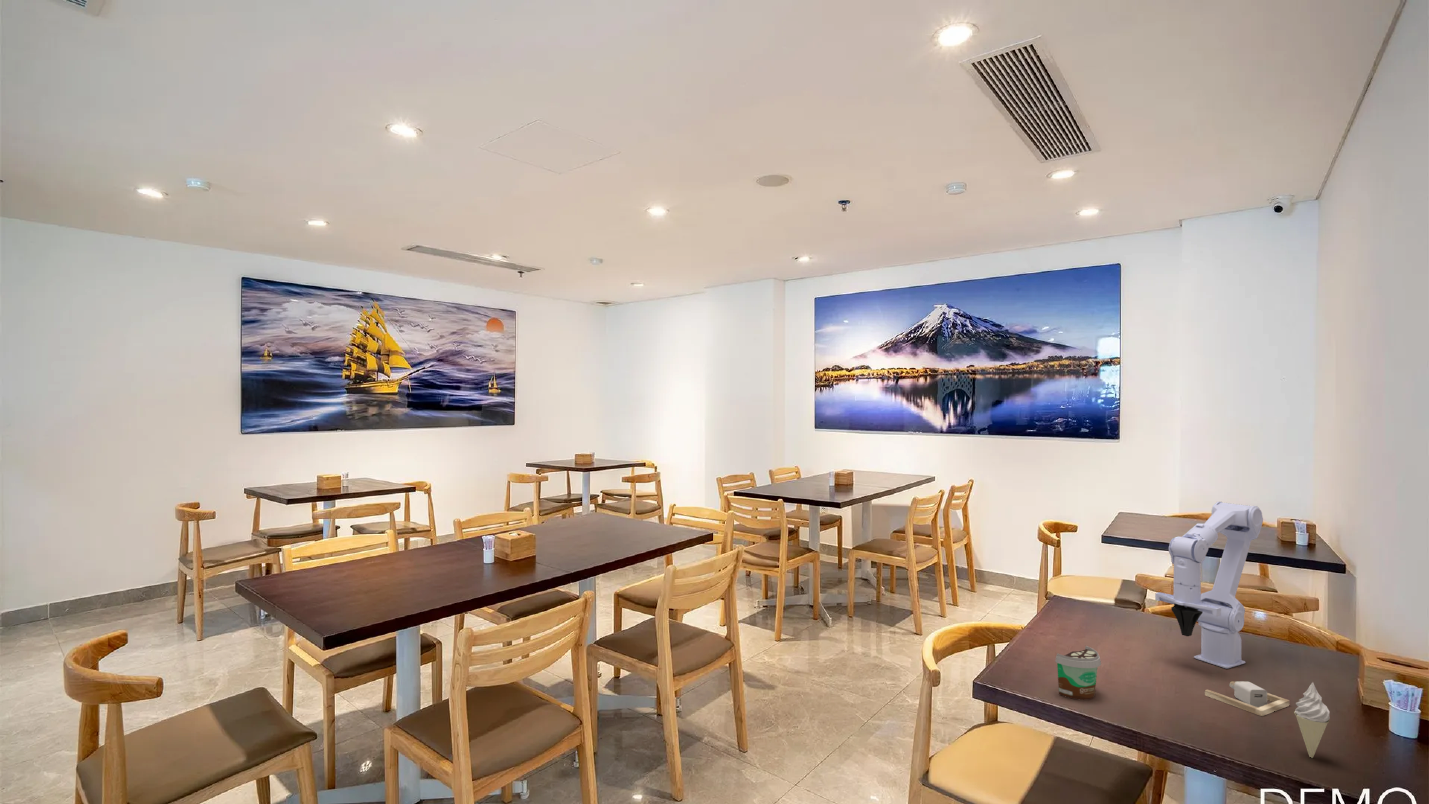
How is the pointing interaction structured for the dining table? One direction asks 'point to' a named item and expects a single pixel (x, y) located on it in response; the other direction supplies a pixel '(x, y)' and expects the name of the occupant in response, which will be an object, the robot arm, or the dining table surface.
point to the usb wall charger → (1250, 693)
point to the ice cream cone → (1312, 718)
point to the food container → (1078, 673)
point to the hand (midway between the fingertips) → (1186, 635)
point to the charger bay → (1261, 711)
